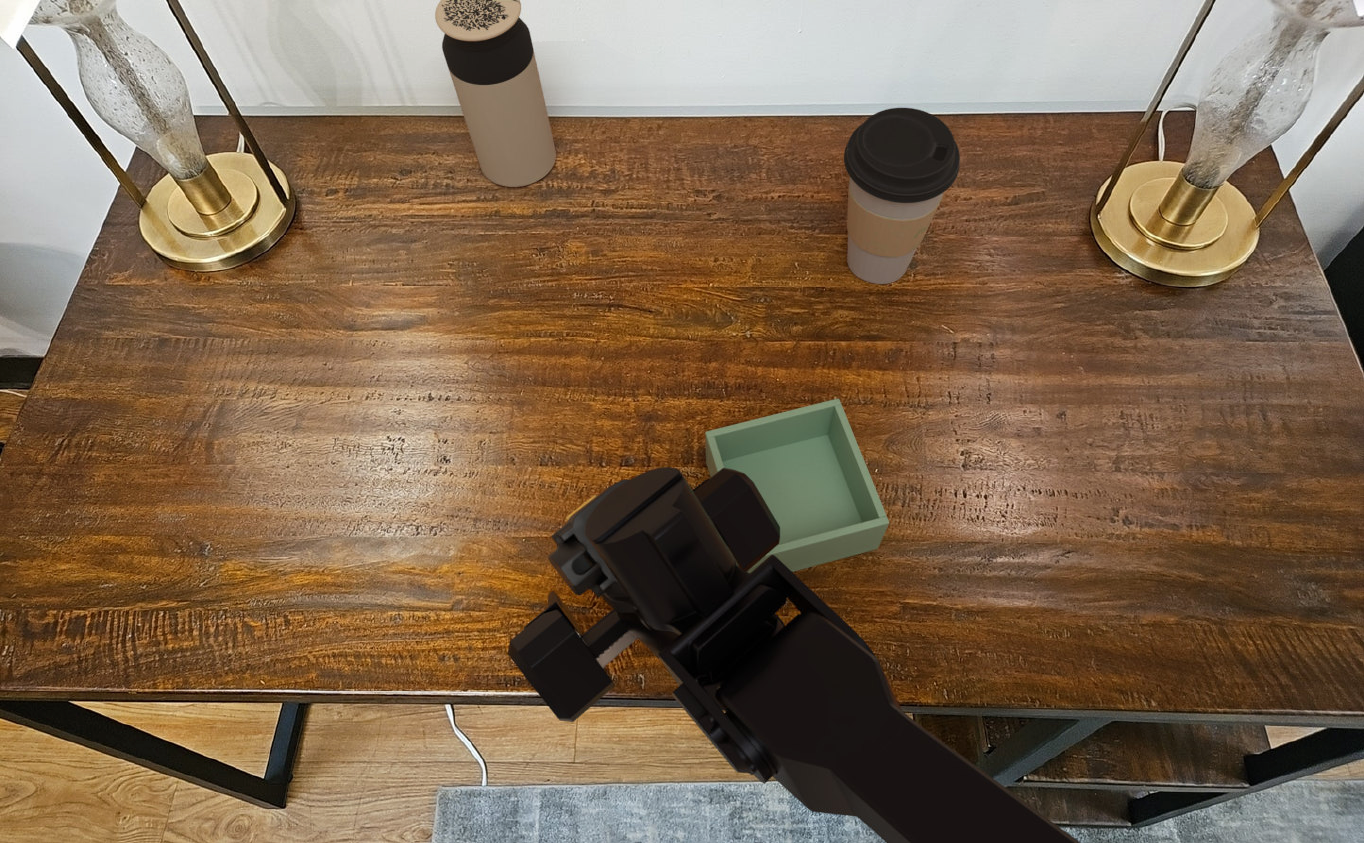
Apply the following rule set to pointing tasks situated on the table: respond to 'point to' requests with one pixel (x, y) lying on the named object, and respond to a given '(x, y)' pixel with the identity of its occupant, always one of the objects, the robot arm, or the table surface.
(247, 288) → the table surface
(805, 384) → the table surface
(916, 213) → the coffee cup
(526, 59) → the travel mug
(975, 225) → the table surface
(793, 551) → the green open square box
